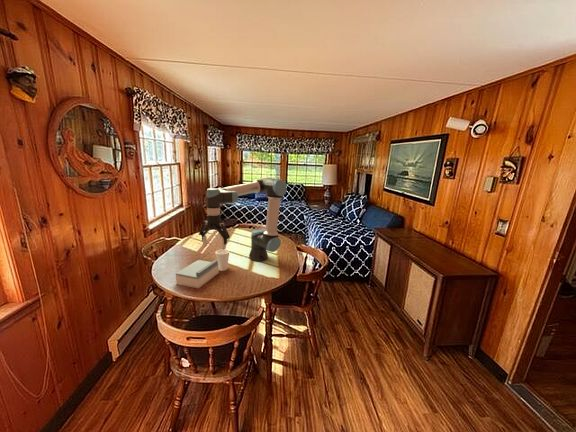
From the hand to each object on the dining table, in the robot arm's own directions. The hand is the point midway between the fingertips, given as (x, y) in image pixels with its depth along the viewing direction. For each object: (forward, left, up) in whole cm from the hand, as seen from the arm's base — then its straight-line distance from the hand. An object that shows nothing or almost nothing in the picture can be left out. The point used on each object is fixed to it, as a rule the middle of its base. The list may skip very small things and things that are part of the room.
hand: (214, 247), depth 149 cm
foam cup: (+5, -18, -23) cm, 30 cm away
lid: (+12, 0, -17) cm, 21 cm away
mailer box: (+12, 0, -23) cm, 26 cm away
